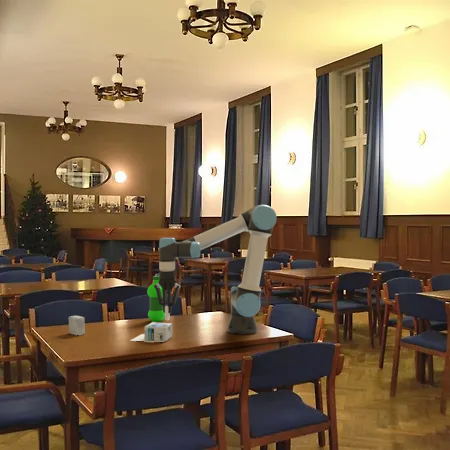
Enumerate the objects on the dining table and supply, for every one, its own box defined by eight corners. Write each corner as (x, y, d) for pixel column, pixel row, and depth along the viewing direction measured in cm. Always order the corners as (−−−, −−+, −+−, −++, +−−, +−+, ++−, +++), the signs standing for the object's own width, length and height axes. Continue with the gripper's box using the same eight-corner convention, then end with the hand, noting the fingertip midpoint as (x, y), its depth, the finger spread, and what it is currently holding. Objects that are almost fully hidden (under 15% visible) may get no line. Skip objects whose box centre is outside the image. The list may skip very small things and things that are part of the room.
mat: (172, 336, 281) (172, 335, 281) (162, 342, 266) (162, 342, 266) (141, 334, 285) (141, 333, 285) (129, 341, 270) (129, 340, 270)
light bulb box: (166, 327, 268) (144, 326, 270) (165, 341, 268) (143, 340, 270) (172, 323, 278) (151, 321, 281) (172, 336, 279) (151, 335, 281)
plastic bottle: (165, 322, 314) (165, 277, 314) (146, 322, 314) (145, 277, 314) (167, 319, 324) (167, 275, 324) (148, 319, 325) (148, 275, 324)
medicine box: (85, 334, 285) (85, 317, 285) (77, 336, 282) (77, 318, 281) (76, 332, 290) (76, 315, 290) (68, 333, 287) (68, 316, 287)
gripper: (182, 269, 275) (182, 318, 276) (157, 269, 278) (157, 317, 279) (177, 271, 268) (177, 321, 268) (151, 270, 271) (151, 320, 271)
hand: (167, 319), depth 273 cm, fingers closed
